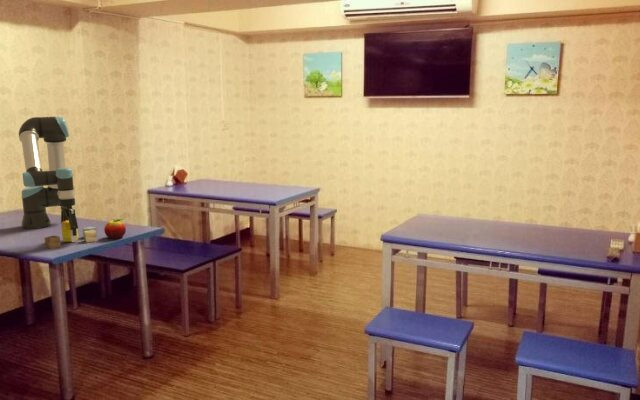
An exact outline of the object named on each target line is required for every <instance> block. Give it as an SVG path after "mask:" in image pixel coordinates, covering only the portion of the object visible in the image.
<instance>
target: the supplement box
mask: <svg viewBox="0 0 640 400" xmlns="http://www.w3.org/2000/svg"><path fill="white" fill-rule="evenodd" d="M60 224H61V226H60V227H61V234H62V243H63V244H71V243H72V244H73V243H76V242H72V240H71V230H70V228H71V227H70V223H69V220H65V221H63V222H61V221H60ZM74 227H75V226H74ZM78 229H79V227H78V228H77V239H78V241H79V239H80V238H79V231H78Z"/></svg>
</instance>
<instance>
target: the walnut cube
mask: <svg viewBox="0 0 640 400" xmlns="http://www.w3.org/2000/svg"><path fill="white" fill-rule="evenodd" d="M58 247H61V237H60V236H57V235H50V236H46V237H44V248H47V249H56V248H58Z"/></svg>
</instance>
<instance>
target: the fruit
mask: <svg viewBox="0 0 640 400" xmlns="http://www.w3.org/2000/svg"><path fill="white" fill-rule="evenodd" d="M124 220H125V218H117V219H114V218H113V219H112V220H110V221H107V223H106V224H105V226H104V229H103V231H104V234H105V236H106V237H107V238H108V239H110V240H111V239H113V240H117V239H121V238H123V237H124V236H125V234H126V232H127V231H126V230H127V229H126V224H124V222H123V221H124Z"/></svg>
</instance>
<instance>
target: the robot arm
mask: <svg viewBox="0 0 640 400" xmlns="http://www.w3.org/2000/svg"><path fill="white" fill-rule="evenodd" d="M69 136H70V134H69V129H68V125H67V122H66V119H65V117H63V116H33V117H31V118H29V119H27V120H25V121H24V122H23V123H22V124H21V126H20V127H19V131H18V139H19V141H20V142H21V144H22V152H23V160H24V167H25V172H23V173H22V181H23V182H22V183H23V186H24V188H23V189H22V190H21V199H22V210H23V215H22V219H21V228H22V229H41V228H45V227H49V226H51V224H52V222H51V219H50V216H49V215H48V213H47V208H53V207H60V213H61V214H60V223H61V222H63V221H65V220H69V223H70V227H71V228H70V230H71V240H72V242H75V243H76V242H79V240H78V239H77V228H78V229H79V226H78V220H77V216H76V210H75V209H74V208H73V206H75V205H76V199H75V188H74V178H73V176H74V174H73V169H72V168H70V167H66V159H65V158H66V157H65V145H64V143H65V142H66V141H67V138H69ZM39 139H43V141H44V142H45V144H46V147H47V159H48V170H43V166H42V159H41V154H40V153H41V152H40V148H39V142H38V141H39ZM44 186H45V187H44ZM46 186H47V187H46ZM74 226H75V227H74Z"/></svg>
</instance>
